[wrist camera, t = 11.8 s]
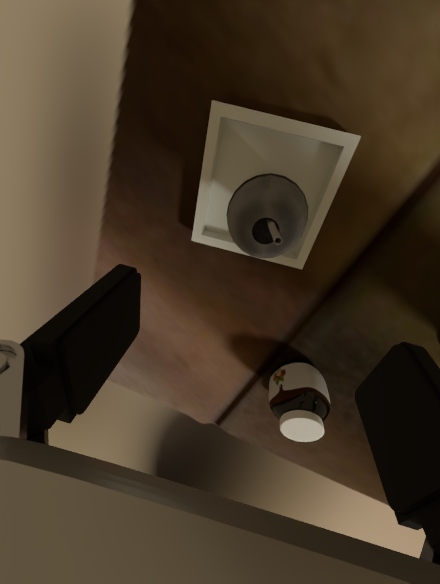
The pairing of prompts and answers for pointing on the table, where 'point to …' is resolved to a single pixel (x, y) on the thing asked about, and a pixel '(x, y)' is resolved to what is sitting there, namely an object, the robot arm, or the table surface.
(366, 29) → the table surface
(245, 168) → the walled tray
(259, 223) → the beverage cup
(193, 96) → the table surface
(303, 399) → the spread jar
